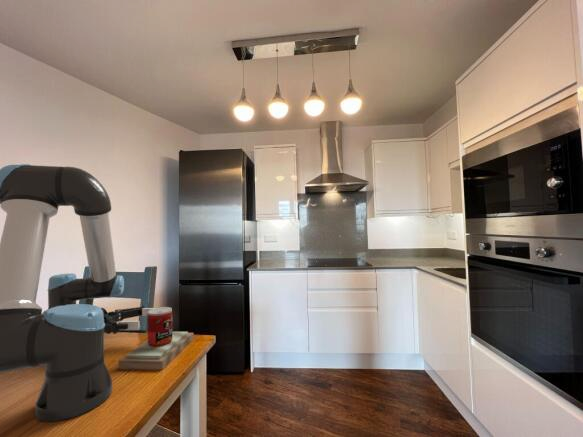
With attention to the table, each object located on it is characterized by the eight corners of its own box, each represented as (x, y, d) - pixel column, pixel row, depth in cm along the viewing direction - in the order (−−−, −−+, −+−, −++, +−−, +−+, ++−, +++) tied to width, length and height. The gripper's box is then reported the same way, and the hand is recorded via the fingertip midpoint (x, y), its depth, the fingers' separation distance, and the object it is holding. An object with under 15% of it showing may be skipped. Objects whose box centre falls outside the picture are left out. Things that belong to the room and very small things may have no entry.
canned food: (157, 349, 89) (157, 315, 89) (142, 344, 93) (142, 311, 93) (177, 340, 96) (177, 308, 96) (162, 336, 100) (162, 305, 100)
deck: (162, 369, 83) (162, 358, 83) (118, 369, 84) (118, 357, 84) (193, 339, 105) (193, 330, 105) (158, 339, 106) (158, 330, 106)
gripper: (113, 317, 108) (167, 317, 107) (58, 346, 83) (128, 344, 82) (113, 298, 108) (167, 297, 108) (58, 321, 83) (128, 319, 83)
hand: (150, 318), depth 95 cm, fingers open, 13 cm apart
